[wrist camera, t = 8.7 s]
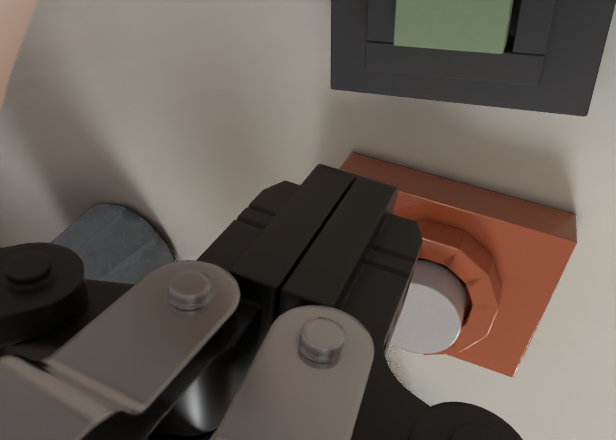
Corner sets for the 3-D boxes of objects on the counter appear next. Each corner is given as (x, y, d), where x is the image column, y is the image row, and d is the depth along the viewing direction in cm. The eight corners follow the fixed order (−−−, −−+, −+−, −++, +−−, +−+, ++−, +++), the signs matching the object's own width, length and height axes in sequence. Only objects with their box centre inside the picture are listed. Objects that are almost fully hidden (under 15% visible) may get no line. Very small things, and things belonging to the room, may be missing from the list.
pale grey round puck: (374, 312, 31) (364, 336, 30) (390, 248, 29) (380, 270, 27) (453, 339, 30) (447, 366, 29) (477, 275, 28) (471, 300, 26)
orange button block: (328, 282, 37) (303, 326, 33) (351, 151, 32) (324, 188, 28) (516, 346, 34) (510, 402, 30) (576, 214, 29) (578, 263, 25)
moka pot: (32, 187, 43) (-284, 375, 27) (210, 202, 37) (-55, 451, 21) (71, 290, 47) (-178, 503, 31) (235, 317, 42) (33, 593, 26)
